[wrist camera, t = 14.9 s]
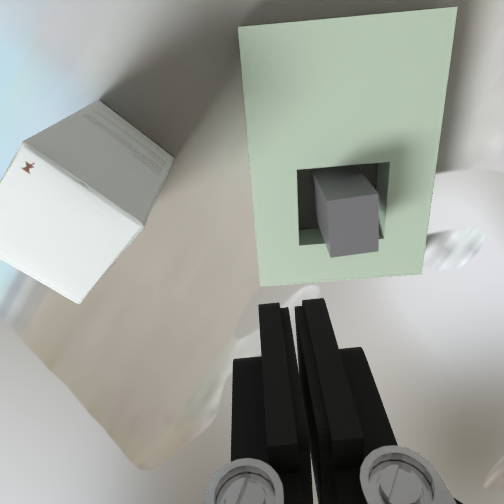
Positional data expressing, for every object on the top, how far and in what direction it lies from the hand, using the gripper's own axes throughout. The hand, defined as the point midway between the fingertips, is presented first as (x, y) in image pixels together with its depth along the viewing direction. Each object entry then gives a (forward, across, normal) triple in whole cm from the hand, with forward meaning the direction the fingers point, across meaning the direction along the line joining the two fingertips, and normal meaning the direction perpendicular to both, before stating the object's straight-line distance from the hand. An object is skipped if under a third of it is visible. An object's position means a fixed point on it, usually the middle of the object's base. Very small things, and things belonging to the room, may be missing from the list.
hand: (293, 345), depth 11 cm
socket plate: (+25, -6, +4) cm, 26 cm away
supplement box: (+25, +12, +2) cm, 28 cm away
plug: (+25, -6, +6) cm, 26 cm away
